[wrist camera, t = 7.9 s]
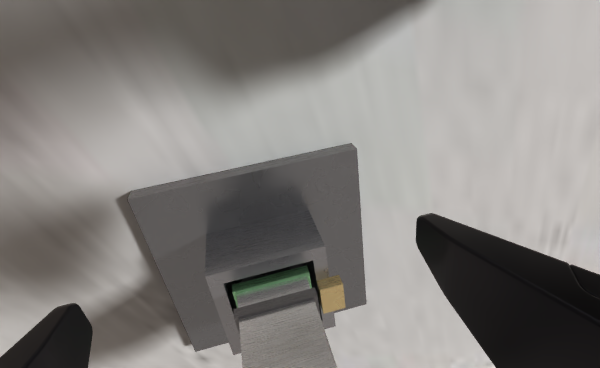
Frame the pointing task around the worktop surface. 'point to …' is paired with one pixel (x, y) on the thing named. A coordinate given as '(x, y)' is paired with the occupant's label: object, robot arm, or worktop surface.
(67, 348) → the robot arm
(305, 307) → the gray rectangular plug
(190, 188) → the stand base
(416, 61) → the worktop surface
